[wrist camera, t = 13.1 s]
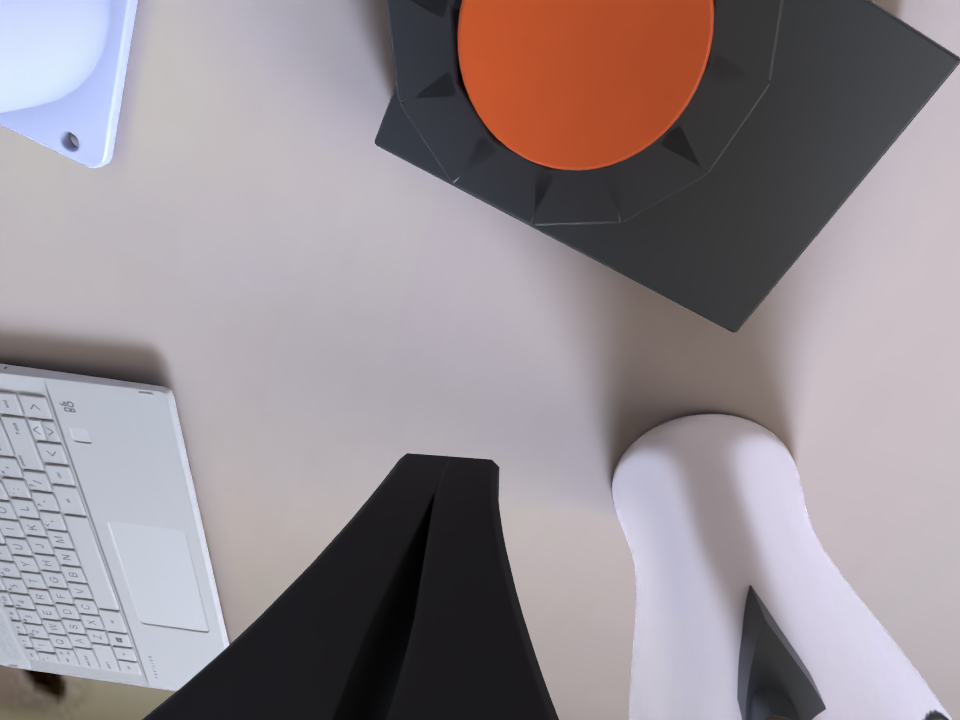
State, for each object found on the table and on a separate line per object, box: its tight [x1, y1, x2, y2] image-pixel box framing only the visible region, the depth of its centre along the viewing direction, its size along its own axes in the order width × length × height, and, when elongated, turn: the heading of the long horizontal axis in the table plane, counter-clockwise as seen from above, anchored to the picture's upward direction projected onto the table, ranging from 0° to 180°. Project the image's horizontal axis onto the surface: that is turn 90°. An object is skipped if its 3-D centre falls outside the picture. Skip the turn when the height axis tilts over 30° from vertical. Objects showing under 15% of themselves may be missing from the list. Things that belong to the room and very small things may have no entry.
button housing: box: [375, 0, 960, 333], centre depth 13 cm, size 10×7×4 cm
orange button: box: [457, 0, 714, 170], centre depth 11 cm, size 4×4×2 cm
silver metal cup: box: [612, 414, 952, 720], centre depth 15 cm, size 7×7×15 cm
